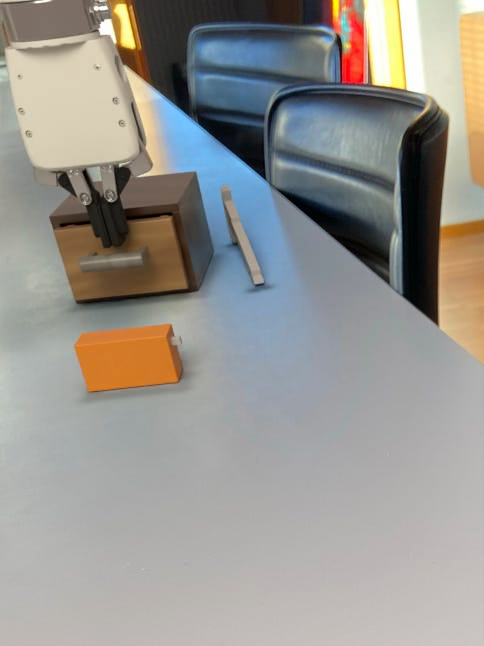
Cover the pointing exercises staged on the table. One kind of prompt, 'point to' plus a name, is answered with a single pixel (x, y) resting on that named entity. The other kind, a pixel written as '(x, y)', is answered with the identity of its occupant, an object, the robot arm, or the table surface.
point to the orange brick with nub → (129, 357)
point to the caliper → (240, 235)
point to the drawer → (123, 259)
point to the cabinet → (156, 198)
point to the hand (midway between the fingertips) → (115, 243)
